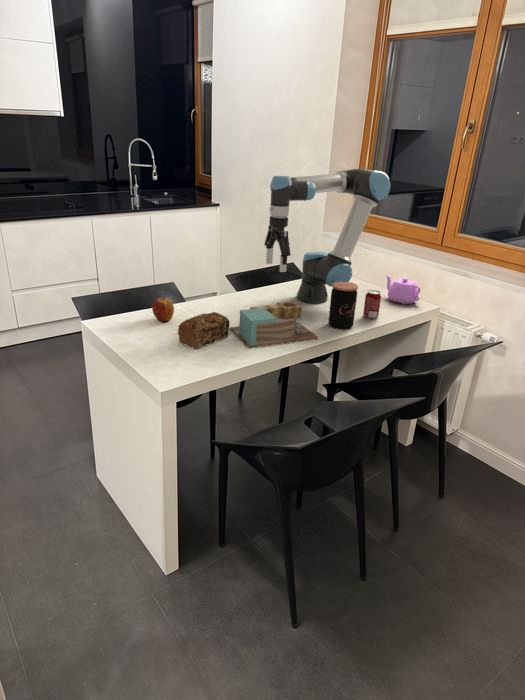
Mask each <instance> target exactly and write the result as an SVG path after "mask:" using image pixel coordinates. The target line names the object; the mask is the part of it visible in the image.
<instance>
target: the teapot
mask: <svg viewBox="0 0 525 700" xmlns="http://www.w3.org/2000/svg"><path fill="white" fill-rule="evenodd" d="M385 276H386V280H387V282H386V289H387V291H388V292H387V297H388V299H389V300H390V301H391V302H394V303H395V302H396V303H399V304H402V305H408V304H409V305H410V304H413V303H415V302H419V301H420V297H419V295H420V294H421V287H420V286H419V285H418V284H416V282H415V281H412V280H409V278H407V277H402V278H399V279H395V280H394V281H393V283H392V278H391V276H390V275H388V274H385Z"/></svg>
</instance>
